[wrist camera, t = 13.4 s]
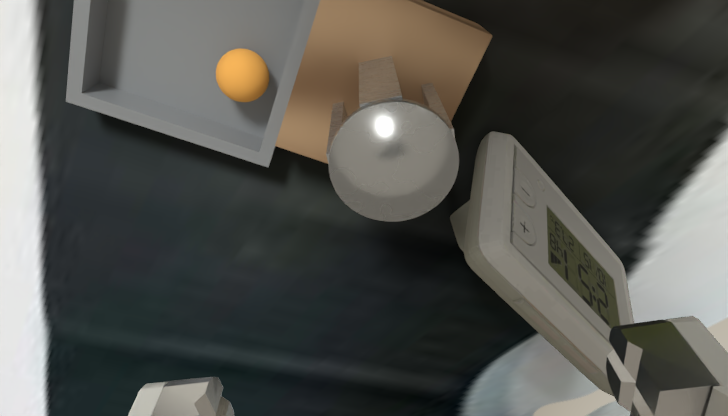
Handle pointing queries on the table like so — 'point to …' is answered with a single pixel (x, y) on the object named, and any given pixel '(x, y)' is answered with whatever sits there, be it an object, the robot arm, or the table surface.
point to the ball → (242, 75)
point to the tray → (188, 66)
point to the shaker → (391, 148)
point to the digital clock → (542, 256)
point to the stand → (373, 41)
